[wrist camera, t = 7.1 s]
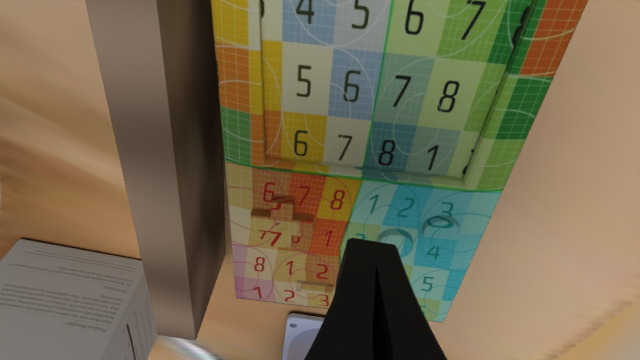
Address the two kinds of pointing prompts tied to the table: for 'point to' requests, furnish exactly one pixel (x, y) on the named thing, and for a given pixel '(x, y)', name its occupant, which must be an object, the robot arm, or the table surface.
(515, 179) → the table surface
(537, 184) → the table surface
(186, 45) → the shelf corner
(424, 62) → the puzzle game
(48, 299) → the supplement box
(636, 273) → the table surface
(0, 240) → the table surface
